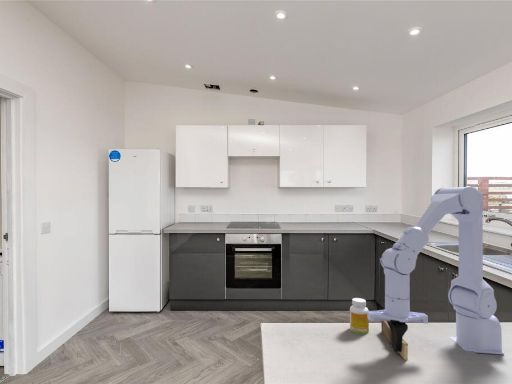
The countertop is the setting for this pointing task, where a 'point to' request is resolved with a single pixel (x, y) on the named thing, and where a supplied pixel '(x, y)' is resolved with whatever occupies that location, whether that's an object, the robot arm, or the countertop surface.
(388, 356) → the countertop surface
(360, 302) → the supplement bottle
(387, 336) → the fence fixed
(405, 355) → the wooden flat block
